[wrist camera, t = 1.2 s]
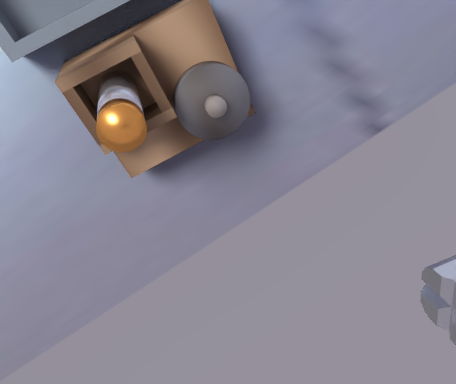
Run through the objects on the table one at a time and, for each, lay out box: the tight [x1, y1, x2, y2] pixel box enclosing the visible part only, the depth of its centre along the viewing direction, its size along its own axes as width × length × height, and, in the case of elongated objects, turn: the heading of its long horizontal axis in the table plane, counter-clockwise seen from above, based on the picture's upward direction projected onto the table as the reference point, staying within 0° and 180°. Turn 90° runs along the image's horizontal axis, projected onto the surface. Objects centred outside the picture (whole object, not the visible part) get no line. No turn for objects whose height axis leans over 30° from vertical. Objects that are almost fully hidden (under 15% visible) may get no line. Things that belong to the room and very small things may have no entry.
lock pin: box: [96, 71, 147, 152], centre depth 27 cm, size 3×3×9 cm
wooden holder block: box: [55, 0, 255, 178], centre depth 32 cm, size 12×10×7 cm
